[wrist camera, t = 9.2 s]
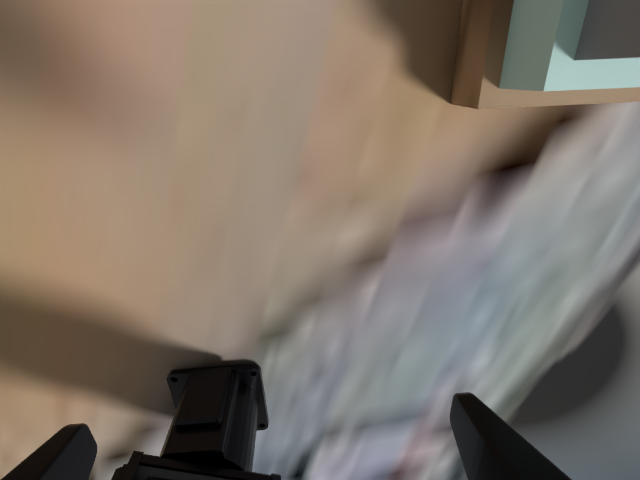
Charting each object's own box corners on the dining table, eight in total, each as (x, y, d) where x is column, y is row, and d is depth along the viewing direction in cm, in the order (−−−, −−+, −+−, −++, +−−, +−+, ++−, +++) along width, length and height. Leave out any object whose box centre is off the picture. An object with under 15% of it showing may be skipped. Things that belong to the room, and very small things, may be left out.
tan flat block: (598, 97, 18) (650, 101, 16) (450, 103, 18) (477, 109, 15) (655, -103, 15) (735, -143, 12) (474, -100, 15) (515, -139, 12)
